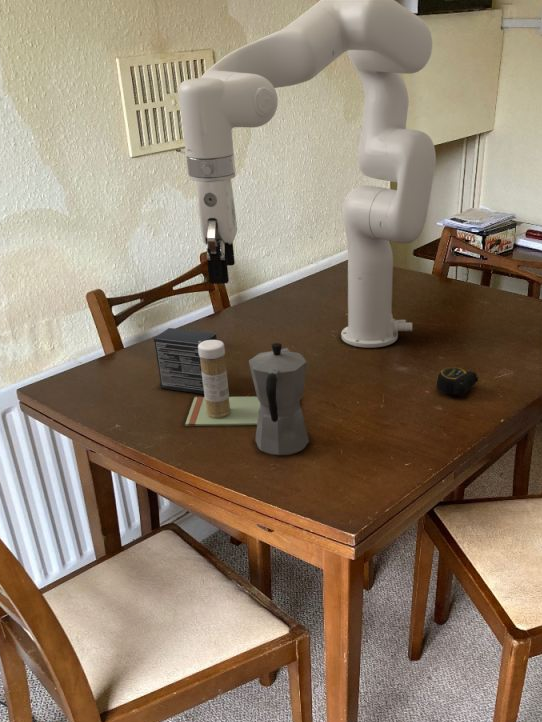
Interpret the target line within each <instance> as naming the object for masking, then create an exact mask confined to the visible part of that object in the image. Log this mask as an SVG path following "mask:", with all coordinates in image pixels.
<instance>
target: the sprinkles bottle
mask: <svg viewBox="0 0 542 722" xmlns="http://www.w3.org/2000/svg"><path fill="white" fill-rule="evenodd" d="M225 347H226V346H225V343H224V342H223V341H222V340H218V339H217V340H206V341H203V342H201V343H200V344H199V345H198V352H199V356H200V360H201V368H202V380H203V388H204V394H203V395H204V396H203V397H205V401H206V409H207V410H206V413H207V415H208V416H210V417H213V418H221V417H225V416H227V415H228V414H230V412H231V409H230V404H229V397H230V392H229V391H230V390H229V381H228V372H227V371H228V370H227V366H226V358H225V356H226V355H225V354H226V348H225Z"/></svg>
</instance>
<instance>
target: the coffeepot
mask: <svg viewBox="0 0 542 722" xmlns="http://www.w3.org/2000/svg"><path fill="white" fill-rule="evenodd" d="M282 347H283V345H282V343H279V342H274V343H272V344H271V349H272V350H271V351H263V352H258V354H256V355H254V356H253V357H252V358H251V359H249V360H248V364H249V369H250V373H251V377H252V381H253V386H254V390H255V395H256V396H257V398H258V400H259V402H260V409H259V411H258V421H257V425H256V432H255V443H256V445H257V448H258V449H259V450H260V451H261V452H264V454H267V455H271V456H289V455H294V454H296V453H299V452H301V451H302V450H304V449H305V448H306V447H307V445H308V444H309V443H310V440H309V435H308V431H307V425H306V421H305V417H304V413H303V409H302V407H301V400H302V399H303V395H304V387H305V381H306V380H305V379H306V371H307V360H306V359H305V358H304V356H303V355H302V354H301V353H300V352H295V351H291V350H290V349H289V348H288V347H284V348H282Z"/></svg>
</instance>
